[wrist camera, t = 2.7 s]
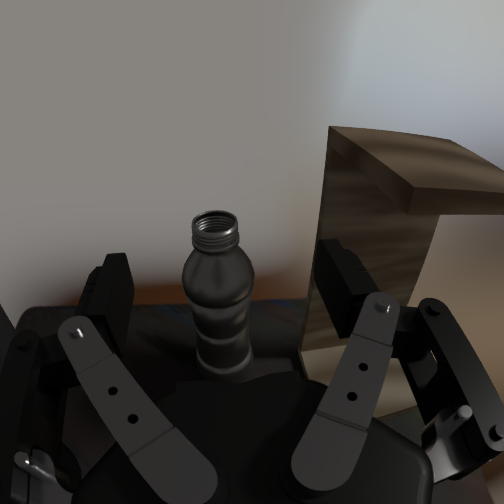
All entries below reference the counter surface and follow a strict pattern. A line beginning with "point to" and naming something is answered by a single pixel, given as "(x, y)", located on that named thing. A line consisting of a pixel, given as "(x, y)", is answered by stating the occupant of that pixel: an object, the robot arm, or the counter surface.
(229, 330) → the plastic bottle
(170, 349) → the counter surface
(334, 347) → the cubby shelf
